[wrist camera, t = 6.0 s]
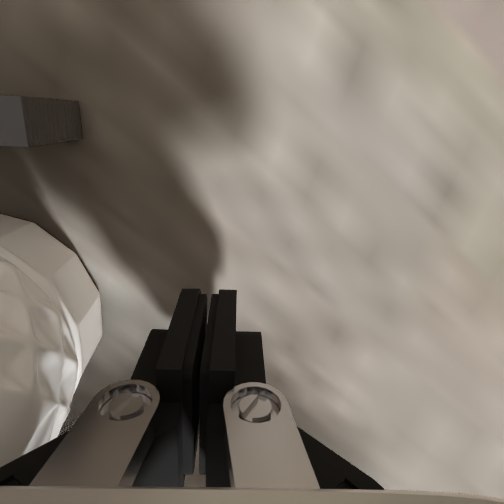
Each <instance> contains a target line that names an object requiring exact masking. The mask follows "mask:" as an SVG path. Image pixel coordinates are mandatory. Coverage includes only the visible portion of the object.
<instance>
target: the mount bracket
mask: <svg viewBox="0 0 504 504" xmlns="http://www.w3.org/2000/svg"><path fill="white" fill-rule="evenodd" d="M78 139H83V138H82V129H81V119H80V109H79V101H71V100H59V99H48V98H36V97H24V96H6V95H0V146H14V147H32V146H39V145H45V144H52V143H58V142H65V141H71V140H78Z"/></svg>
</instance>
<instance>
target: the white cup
mask: <svg viewBox="0 0 504 504" xmlns="http://www.w3.org/2000/svg"><path fill="white" fill-rule="evenodd" d="M102 335H103V331H102V316H101V302H100V293H99V291H98V290H97V288H96V286H95V285H94V283H93V281H92V280H91V278H90V276H89V275H88V273H87V271H86V270H85V268H84V266H83V265H82V263H81V261H80V260H79V258H78V256H77V255H76V254H75V253H74V252H73V251H72V250H70V249H69V248H68V247H66V246H65V245H63V244H62V243H61V242H59V241H58V240H57V239H55V238H54V237H53V236H51V235H50V234H48V233H47V232H46V231H44V230H43V229H42V228H40V227H39V226H38V225H36V224H35V223H33V222H29V221H26V220H22V219H18V218H14V217H10V216H7V215H3V214H0V467H2V466H4V465H6V464H7V463H9V462H11V461H13V460H15V459H17V458H19V457H21V456H23V455H24V454H26V453H28V452H30V451H32V450H34V449H36V448H38V447H40V446H41V445H43V444H45V443H47V442H49V441H51V440H53V439H55V438H57V437H58V435H59V432H60V430H61V427H62V425H63V423H64V421H65V420H66V418H67V416H68V414H69V412H70V410H71V403H72V398H73V395H74V393H75V391H76V389H77V386H78V384H79V381H80V379H81V377H82V375H83V373H84V371H85V369H86V367H87V365H88V363H89V361H90V359H91V357H92V355H93V353H94V351H95V349H96V347H97V345H98V343H99V342H100V340H101V337H102Z"/></svg>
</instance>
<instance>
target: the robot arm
mask: <svg viewBox="0 0 504 504" xmlns="http://www.w3.org/2000/svg"><path fill="white" fill-rule="evenodd" d="M236 295H237V290H219V294H212V297H211V303H210V310H209V316H208V322H207V294H201V290H200V289H185V288H182V290H181V293H180V296H179V299H178V302H177V305H176V308H175V311H174V314H173V317H172V320H171V323H170V326H169V329H168V330H164V329H152V330H151V332H150V334H149V336H148V339H147V341H146V343H145V346H144V348H143V351H142V353H141V355H140V358H139V360H138V363H137V365H136V367H135V370H134V372H133V375H132V377H131V379H130V380H125V381H119V382H117V383H114V384H111V385H109V386H107V387H106V388H104V389H103V390H101V391H100V392H99V393H98V394H97V395H96V396H95V397H94V398H93V400H92V401H91V402H90V404H89V405H88V407H87V408H86V409H85V411H84V412H83V413H82V415H81V416H80V417H79V419H78V420H77V421H76V423H75V424H74V425H73V427H72V428H71V429H70V431H68V432H66V433H64V434H62V435H60V436H58V437H57V438H55V439H53V440H51V441H49V442H47V443H45V444H43V445H41V446H40V447H38V448H36V449H34V450H32V451H30V452H28V453H26V454H24V455H23V456H21V457H19V458H17V459H15V460H13V461H11V462H9V463H7V464H6V465H4V466H2V467H0V504H504V500H503V499H499V498H494V497H486V496H479V495H471V494H463V493H445V492H426V491H408V490H384V488H383V487H382V486H380V485H379V484H378V483H377V482H376V481H375V480H374V479H372V478H371V477H369V476H368V475H366V474H365V473H363V472H362V471H361V470H359V469H358V468H356V467H355V466H353V465H352V464H350V463H349V462H348V461H346V460H345V459H343V458H342V457H340V456H339V455H337V454H336V453H335V452H333V451H332V450H330V449H329V448H327V447H326V446H324V445H323V444H322V443H320V442H319V441H317V440H316V439H314V438H313V437H311V436H310V435H309V434H307V433H306V432H304V431H303V430H301V429H300V428H298V427H297V425H296V423H295V420H294V417H293V415H292V412H291V410H290V407H289V404H288V402H287V400H286V398H285V396H284V395H283V393H281V392H280V391H279V390H278V389H277V388H275V387H273V386H271V385H268V384H266V380H265V369H264V359H263V348H262V338H261V332H240V331H236ZM199 427H200V429H199ZM198 435H199V474H203V475H206V487H183V486H184V479H185V474H193V472H194V465H195V458H196V450H197V443H198Z"/></svg>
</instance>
